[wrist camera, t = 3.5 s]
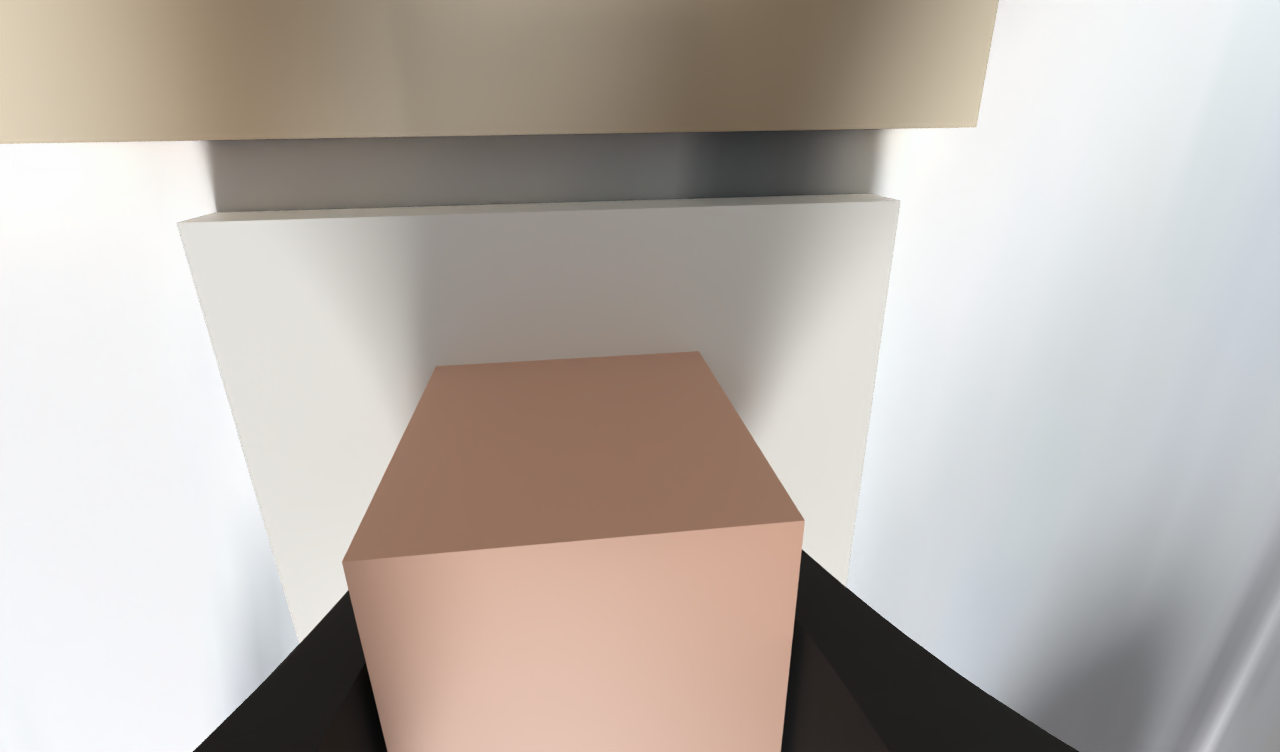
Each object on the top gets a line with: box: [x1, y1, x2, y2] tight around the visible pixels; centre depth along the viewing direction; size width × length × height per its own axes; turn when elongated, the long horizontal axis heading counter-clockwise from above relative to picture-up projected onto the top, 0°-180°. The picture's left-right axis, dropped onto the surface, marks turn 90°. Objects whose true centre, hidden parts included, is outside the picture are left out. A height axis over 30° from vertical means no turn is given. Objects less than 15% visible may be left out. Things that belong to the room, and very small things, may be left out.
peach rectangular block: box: [342, 351, 805, 752], centre depth 9 cm, size 4×6×4 cm
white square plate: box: [177, 194, 900, 644], centre depth 11 cm, size 10×10×1 cm
